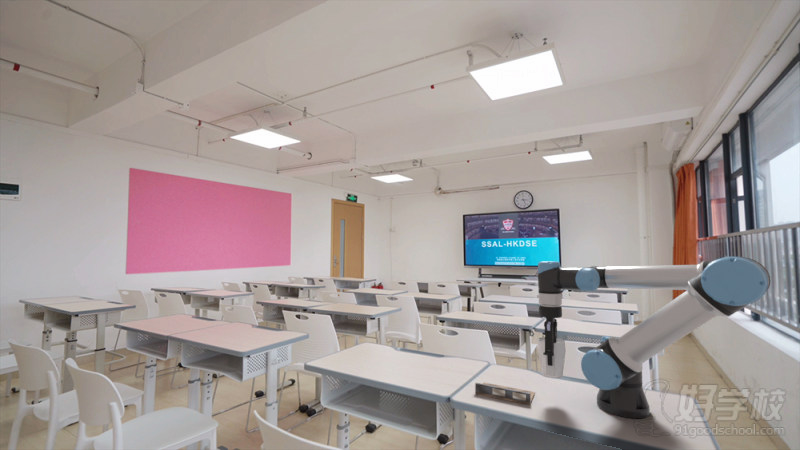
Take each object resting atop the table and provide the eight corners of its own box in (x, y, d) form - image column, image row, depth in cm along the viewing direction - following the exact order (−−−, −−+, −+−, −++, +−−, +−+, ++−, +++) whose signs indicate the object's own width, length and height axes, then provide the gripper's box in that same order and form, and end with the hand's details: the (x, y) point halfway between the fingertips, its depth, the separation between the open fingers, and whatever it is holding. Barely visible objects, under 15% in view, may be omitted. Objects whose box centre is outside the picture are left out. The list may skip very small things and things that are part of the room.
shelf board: (534, 393, 133) (534, 383, 134) (529, 405, 124) (529, 394, 124) (483, 383, 142) (483, 374, 143) (475, 393, 133) (475, 383, 133)
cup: (569, 380, 121) (568, 343, 122) (540, 378, 123) (539, 342, 124) (563, 372, 130) (561, 337, 131) (536, 370, 132) (535, 336, 133)
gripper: (542, 301, 140) (544, 361, 138) (534, 308, 121) (536, 378, 119) (564, 302, 136) (566, 364, 135) (558, 310, 117) (561, 382, 116)
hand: (552, 370), depth 127 cm, fingers closed on cup, 9 cm apart
